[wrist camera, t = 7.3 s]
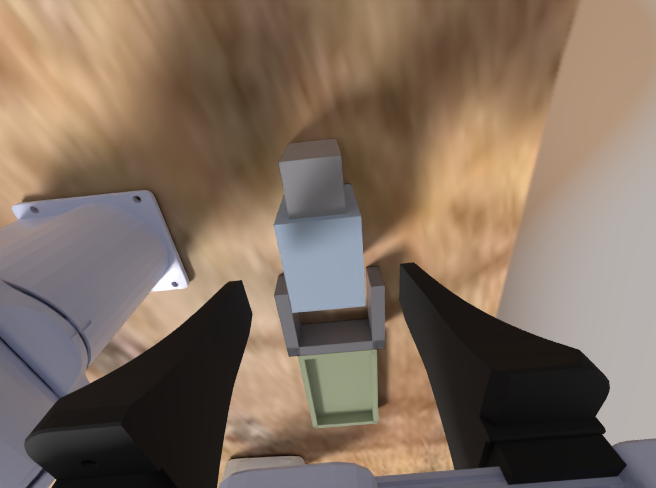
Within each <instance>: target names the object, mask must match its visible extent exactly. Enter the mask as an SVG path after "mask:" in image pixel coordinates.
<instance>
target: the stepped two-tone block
mask: <svg viewBox="0 0 656 488" xmlns="http://www.w3.org/2000/svg"><path fill="white" fill-rule="evenodd" d="M279 167H280V173H281V178H282V184H283V189H284V196H283V199H282V202H281V205H280V208H279V211H278V214H277V217H276V220H275V223H274V229H275V234H276V238H277V243H278V248H279V252H280V257H281V262H282V266H283V271H284V275H285V280H286V285H287V289H288V294H289V299H290V303H291V308H292V313H297V312H308V311H319V310H329V309H340V308H351V307H362V306H366V304H365V283H364V263H363V242H362V221H361V214H360V210H359V207H358V204H357V201H356V198H355V195H354V191H353V188H352V185H351V184H343V171H342V158H341V153H340V149H339V146H338V143H337V139H336V138H335V139H326V140H317V141H308V142H299V143H290V144H288V146H287V148H286V150H285V151H284V153H283V155H282V157H281V159H280V161H279Z"/></svg>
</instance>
